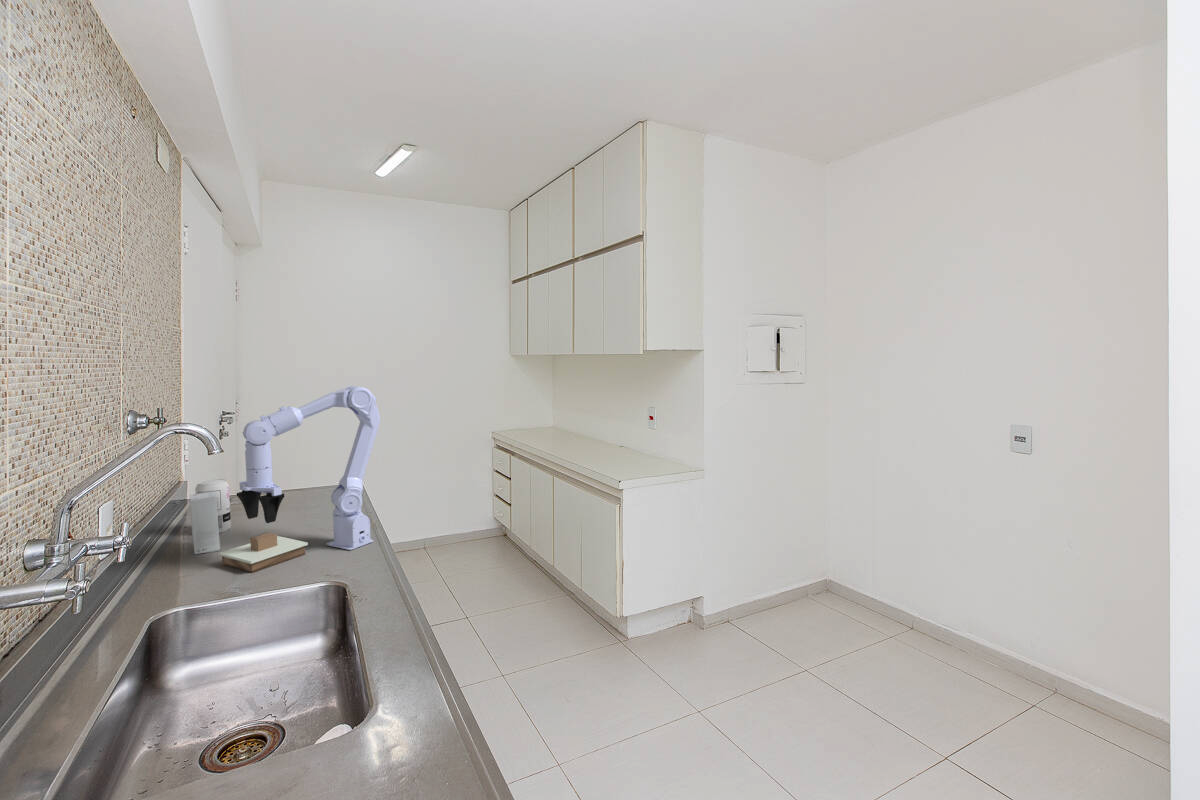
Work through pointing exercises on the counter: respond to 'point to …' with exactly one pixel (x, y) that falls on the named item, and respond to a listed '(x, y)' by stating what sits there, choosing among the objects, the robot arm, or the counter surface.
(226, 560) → the box
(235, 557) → the lid
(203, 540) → the skincare box
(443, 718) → the counter surface
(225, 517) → the supplement can
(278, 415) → the robot arm
